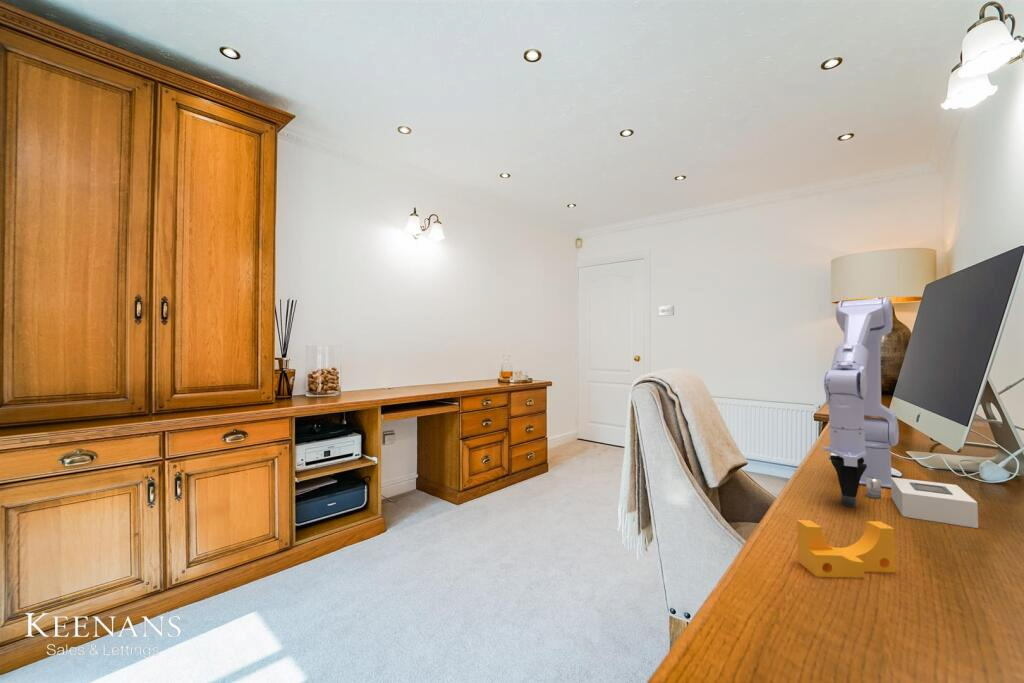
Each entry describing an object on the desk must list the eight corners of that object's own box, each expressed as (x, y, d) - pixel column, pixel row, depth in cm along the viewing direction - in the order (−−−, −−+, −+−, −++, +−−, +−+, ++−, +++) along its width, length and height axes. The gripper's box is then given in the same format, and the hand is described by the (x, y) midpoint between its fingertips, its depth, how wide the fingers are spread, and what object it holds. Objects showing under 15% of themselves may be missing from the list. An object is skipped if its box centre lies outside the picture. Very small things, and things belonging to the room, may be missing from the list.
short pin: (866, 494, 94) (865, 476, 94) (880, 496, 92) (879, 478, 92) (867, 497, 92) (867, 479, 92) (882, 499, 90) (881, 480, 90)
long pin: (840, 502, 89) (840, 471, 89) (855, 504, 88) (854, 473, 88) (841, 505, 87) (840, 474, 87) (856, 508, 86) (855, 475, 86)
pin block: (891, 498, 91) (890, 476, 91) (957, 507, 86) (956, 483, 86) (902, 516, 81) (902, 491, 81) (978, 528, 76) (977, 501, 76)
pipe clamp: (816, 578, 60) (815, 532, 60) (798, 562, 64) (796, 520, 65) (906, 580, 59) (904, 533, 60) (881, 565, 64) (880, 521, 64)
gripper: (821, 421, 96) (822, 481, 96) (824, 431, 84) (826, 500, 84) (861, 423, 92) (863, 486, 92) (870, 435, 80) (872, 507, 80)
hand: (848, 493), depth 87 cm, fingers closed on long pin, 2 cm apart
